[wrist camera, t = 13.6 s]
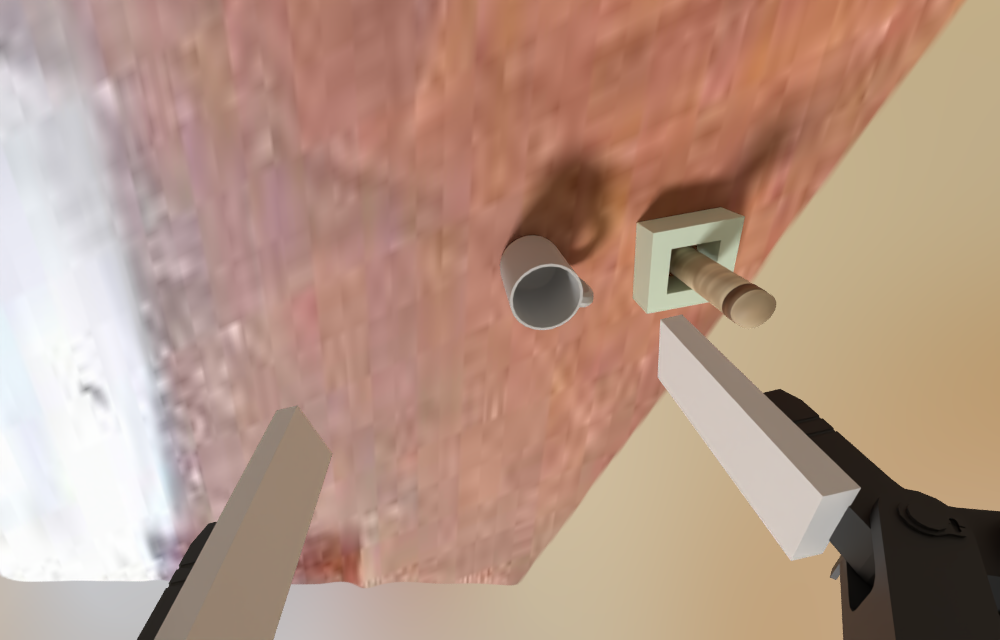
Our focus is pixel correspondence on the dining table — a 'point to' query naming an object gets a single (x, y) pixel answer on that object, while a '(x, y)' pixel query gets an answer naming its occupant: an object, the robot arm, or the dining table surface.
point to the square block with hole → (659, 236)
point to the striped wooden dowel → (722, 287)
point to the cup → (541, 283)
